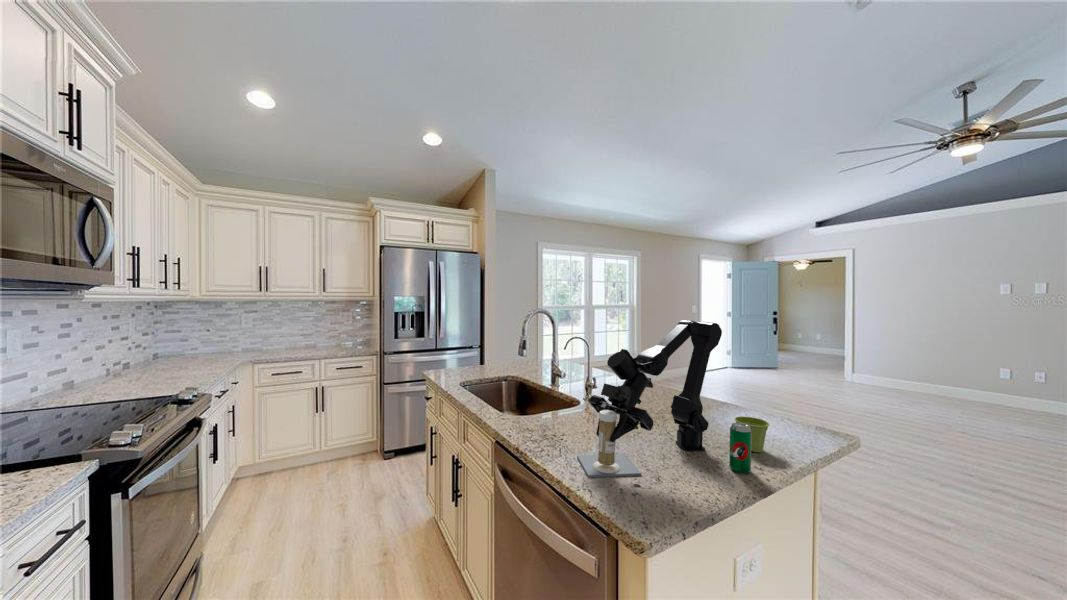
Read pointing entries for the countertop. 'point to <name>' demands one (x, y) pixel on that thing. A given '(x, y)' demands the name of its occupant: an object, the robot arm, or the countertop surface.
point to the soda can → (740, 448)
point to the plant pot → (755, 431)
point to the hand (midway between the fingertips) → (604, 438)
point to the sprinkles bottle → (606, 437)
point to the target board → (617, 469)
